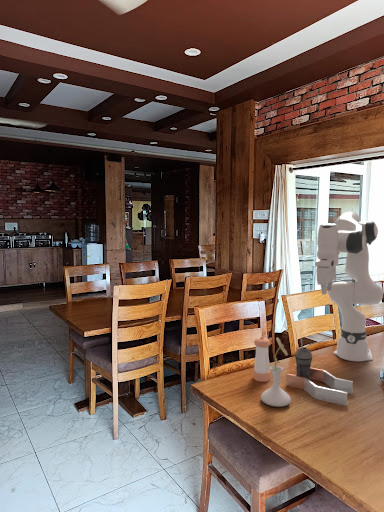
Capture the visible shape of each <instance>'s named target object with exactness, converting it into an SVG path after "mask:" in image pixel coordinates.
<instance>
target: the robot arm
mask: <svg viewBox="0 0 384 512" xmlns="http://www.w3.org/2000/svg"><path fill="white" fill-rule="evenodd" d="M378 229H379V228H378V226H377V224H376V223H375V222H374V221H371V220H366V221H361V218H360V216H359V214H358V213H357V212H354V211H346V212H344V213H342V214H340V215H339V216H338V217H337V218H336V219H335V221H334V223H331V222H329V223H327V222H326V223H323V224H320V225H319V227H318V231H317V232H318V233H317V253H316V260H315V263H314V264H315V265H314V266H315V267H316V282H317V285H319V286H320V288H321V289H320V290H321V295H326V294H328V297H329V298H330V299H329V300H331V301H332V302H333V303H335V305H337V307H338V309H339V311H340V313H341V329H340V337H339V338H338V339H337V344H336V349H335V350H334V351H333V352H332V353H333V355H335V356H337V357H338V358H340V359H343V360H346V361H350V362H365V361H373V353H372V351H371V349H369V342H368V340H367V331H366V319H367V317H366V316H365V314H364V313H363V312H361V311H360V310H359V309H356V308H355V307H354V305H367V306H371V305H373V306H374V305H379V304H380V303H381V301H382V300H383V298H384V291H383V289H382V287H381V286H380V285H379V284H377V283H376V282H375V281H374V280H373V279H372V277H371V276H370V272H369V271H370V270H369V262H370V258H369V257H370V256H369V255H370V254H369V246H370V245H372V243H374V241H375V240H376V239H377V237H378V232H379V230H378ZM368 245H369V246H368ZM340 253H346V258H345V269H344V270H345V274H346V275H347V276H348V278H350V279H352V280H354V281H336V282H334V281H335V280H336V278H337V266H339V254H340Z"/></svg>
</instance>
